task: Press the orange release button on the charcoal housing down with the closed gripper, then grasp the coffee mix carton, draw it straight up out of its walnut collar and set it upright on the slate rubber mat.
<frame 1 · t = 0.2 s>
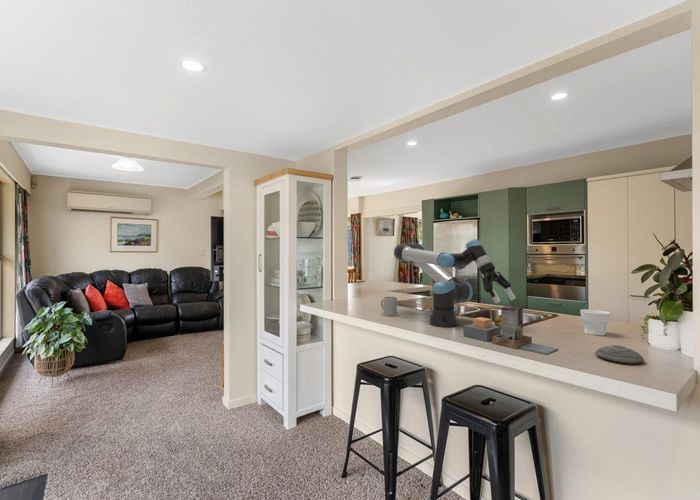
hand: (506, 301, 182), 15 cm above the table, fingers open, 13 cm apart
coffee box: (511, 343, 159), on the table
grey flat stone: (618, 360, 138), on the table
release button: (482, 324, 170), point 6 cm above the table, slide at 0.0 cm
mug: (388, 315, 224), on the table
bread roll: (503, 328, 190), on the table
button housing: (482, 336, 170), on the table
cup: (594, 333, 178), on the table
carton collar: (511, 343, 159), on the table
slate mat: (538, 349, 150), on the table
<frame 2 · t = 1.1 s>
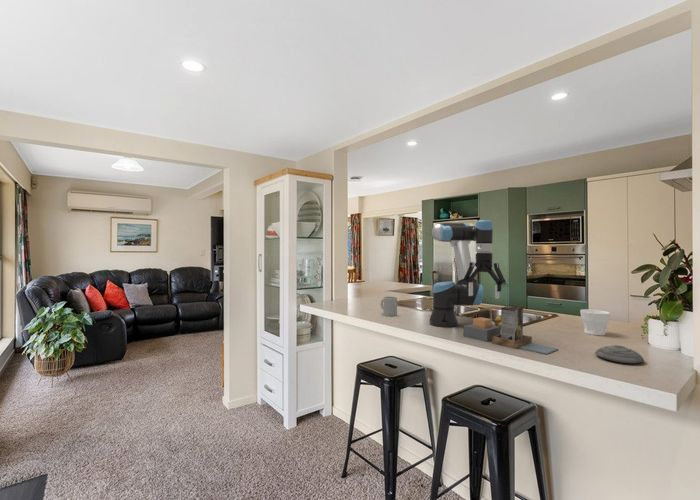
hand: (483, 297, 171), 19 cm above the table, fingers open, 13 cm apart
nothing on the table moved.
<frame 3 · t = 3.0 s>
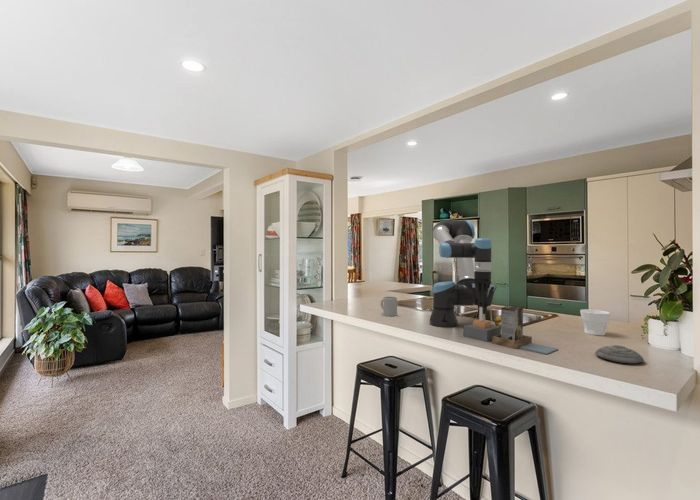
hand: (482, 320, 170), 8 cm above the table, fingers closed
release button: (482, 326, 170), point 5 cm above the table, slide at 1.0 cm, touching gripper
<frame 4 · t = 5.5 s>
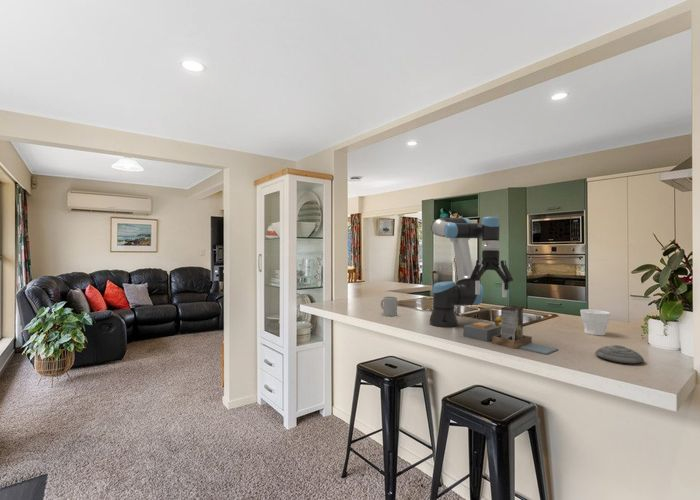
hand: (490, 295, 166), 20 cm above the table, fingers open, 13 cm apart
release button: (482, 329, 170), point 4 cm above the table, slide at 2.3 cm
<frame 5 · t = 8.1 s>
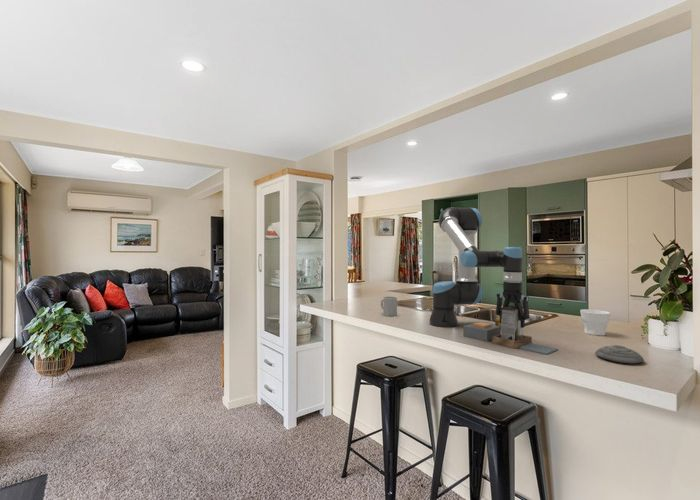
hand: (511, 333, 159), 5 cm above the table, fingers closed on coffee box, 7 cm apart
coffee box: (511, 343, 159), on the table, touching gripper
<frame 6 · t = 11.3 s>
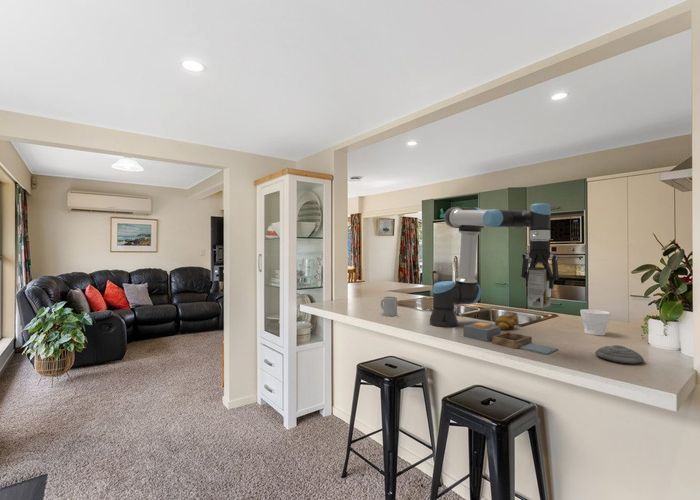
hand: (539, 295, 150), 23 cm above the table, fingers closed on coffee box, 7 cm apart
coffee box: (539, 306, 150), point 18 cm above the table, touching gripper
when the fingers open (6 cm above the table, at t = 14.6 s): coffee box drops 1 cm, resting on slate mat.
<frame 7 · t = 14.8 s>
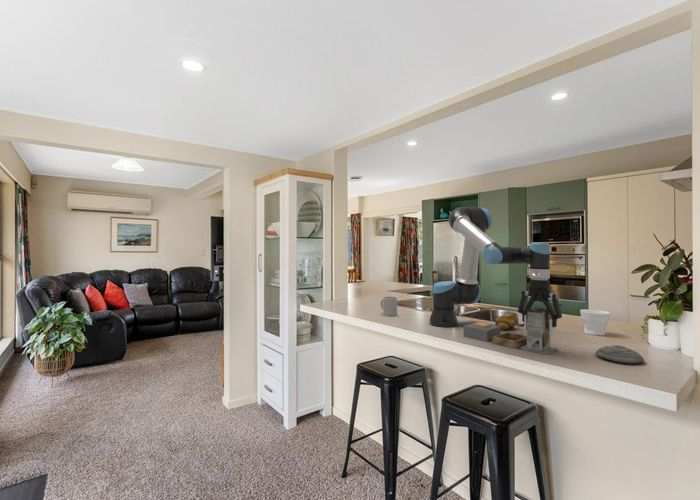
hand: (538, 332, 150), 7 cm above the table, fingers open, 9 cm apart
coffee box: (538, 348, 150), resting on slate mat
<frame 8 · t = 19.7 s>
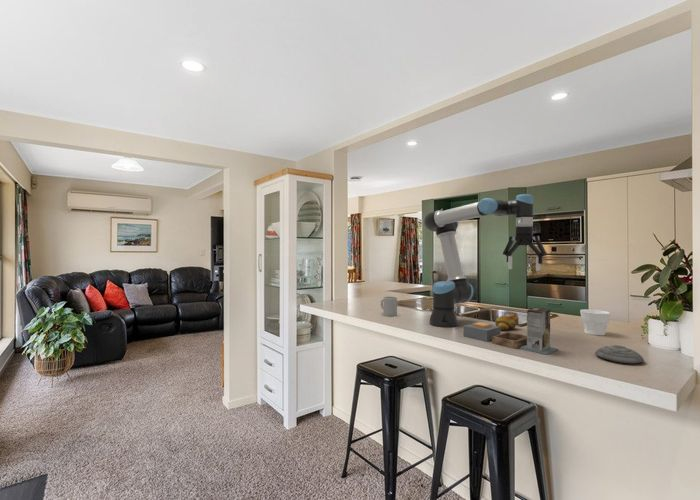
hand: (523, 269, 175), 32 cm above the table, fingers open, 13 cm apart
at the end: release button slide at 2.3 cm; coffee box inside the target area on the slate mat (0.1 cm from its centre), point 0.4 cm above the slate mat's base; coffee box tilted 0° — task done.
